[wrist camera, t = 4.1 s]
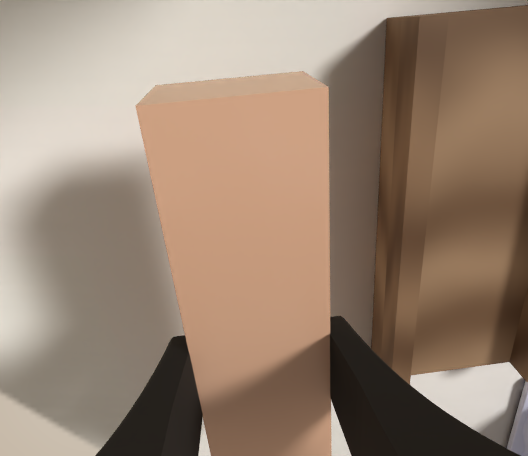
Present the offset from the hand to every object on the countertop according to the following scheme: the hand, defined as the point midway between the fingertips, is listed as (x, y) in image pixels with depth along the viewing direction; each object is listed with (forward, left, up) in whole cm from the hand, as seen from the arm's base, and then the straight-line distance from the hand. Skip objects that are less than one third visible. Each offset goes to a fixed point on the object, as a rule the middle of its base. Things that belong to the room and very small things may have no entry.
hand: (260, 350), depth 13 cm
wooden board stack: (0, -14, -8) cm, 16 cm away
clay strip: (0, 0, -2) cm, 2 cm away
